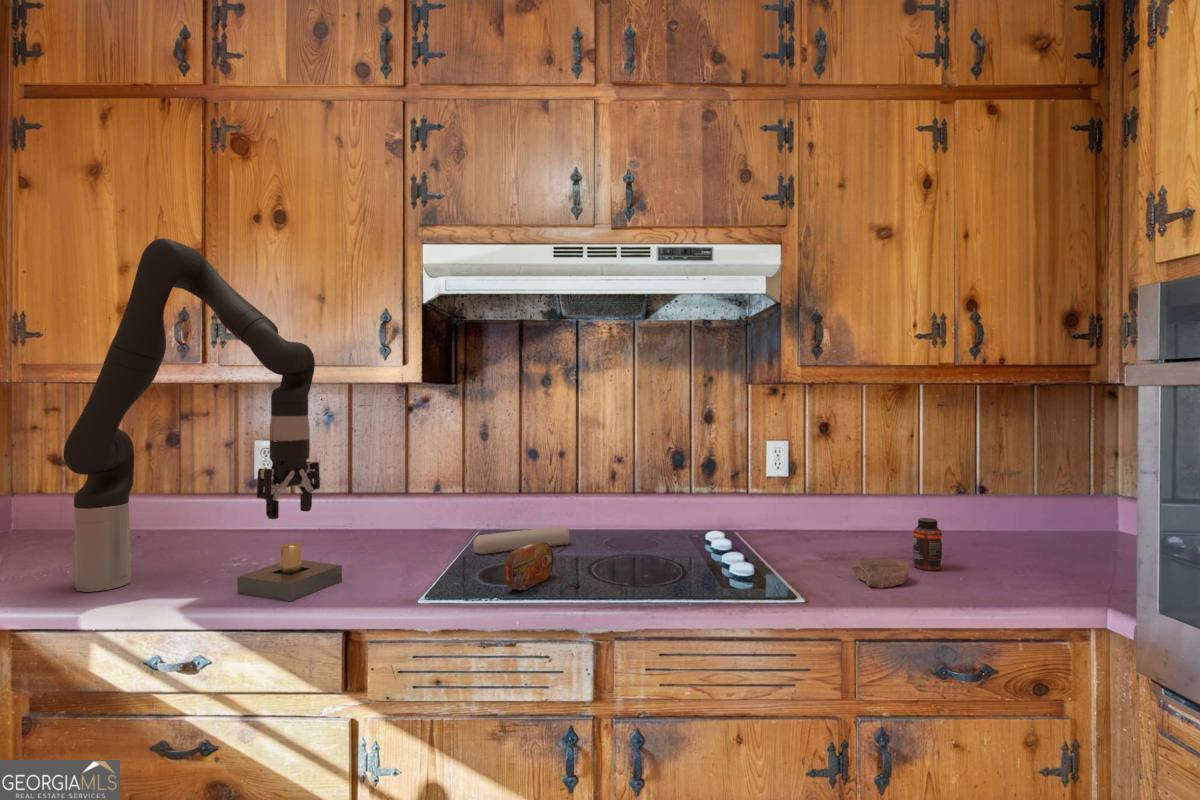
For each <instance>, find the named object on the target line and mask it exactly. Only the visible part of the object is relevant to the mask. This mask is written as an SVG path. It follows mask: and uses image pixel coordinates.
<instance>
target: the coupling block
mask: <svg viewBox="0 0 1200 800" xmlns="http://www.w3.org/2000/svg"><path fill="white" fill-rule="evenodd" d="M301 563H302V572H299V573H296V574H294V575H284V574H280V562H278V563H275V564H272V565H269V566H265V567H263V568H259V569H256V570H253V571H250V572H247V573H244V574H240V575H237V576H236V579H237V582H236V583H237V588H236V589H237V594H239V595H244V596H252V597H259V598H266V599H271V600H278V601H286V602H293V601H295V600H298V599H300V598H302V597H306V596H308V595H311V594H313V593H316V592H318V591H321V590H323V589H326V588H329V587H331V586H333V585H336V584H338V583H341V582H343V565H342V564H337V563H336V564H335V563H329V562H320V561H310V560H305V559H301Z"/></svg>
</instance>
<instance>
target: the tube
mask: <svg viewBox="0 0 1200 800" xmlns="http://www.w3.org/2000/svg"><path fill="white" fill-rule="evenodd" d="M534 542H546V543H548V544H549V545H550V546H553V547H558V546H557V545H562V546H569V543H570V531H569V529H568V526H567V525H565V524H562V525H559V526H551V527H550V526H549V527H543V528H541V527H539V528H532V529H531V528H530V529H523V530H515V531H513V530H512V531H506V532H504V531H503V532H496V533H495V532H494V533H487V534H480V535H479V534H478V535H477V536H476V537H475V538H474V540H473V542H472V547H473V552H474V553H476V554H478V555H479V554H484V555H489V554H488V553H493V554H497V553H496V552H501V553H504V552H503V551H510V552H512V550H516V549H519V548H521V547H524V546H526V545H529V544H531V543H534Z"/></svg>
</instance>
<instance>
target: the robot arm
mask: <svg viewBox="0 0 1200 800" xmlns="http://www.w3.org/2000/svg"><path fill="white" fill-rule="evenodd" d="M173 288H176V289H180V290H184V291H186V292H188V293H190V294H191V295H193V296H195V297H197V298H198V299H200V300H201V301H203V302H204V303H205V304H206V305H207V306H209V308H210V309H211V310H212V311H213V312H214V314H215V315H216V317H217V319H218V320H219V322H220V323H221V324H222V325H223V327H224V328H226V329H227V330H228V331H229V332H230V333H231V334H232V335H233V336H235V337H236V338H237V339H238V340H240V342H242V343H243V344H244V345H246V346H247V347H248V348H249V349H250V351H251V352H252V354H253V355H254V356H255V357H256V358H257V360H258V361H259V362H260V364H261V365H263V367H265V368H266V369H267V370H269V372H271V373H273V374H276V375H279V376H281V382H280V385H279V386H278V387H276V388H274V389H273V390H272V392H271V396H270V415H271V416H270V423H269V459H270V461H271V462H272V463H271V464H272V465H271V468H258V471H257V481H256V482H257V483H256V484H257V485H256V498H257V499H262V500H265V504H266V505H265V507H266V509H265V510H266V511H265V512H266V513H265V514H266V517H267V518H268V519H269V520H277V519H279V515H280V514H279V510H280V506H279V502H280V501H279V500H278V499H280V498H279V497H280V496H281V493H283V492H284V491H285V490H286V489H287V488H290V487H292V486H295V487H297V488H298V490H299V491H300V492H301V493H300V494H299V495H300V498H299V499H300V511H301V512H309V511H311V510H312V509H311V508H312V506H313V493H314V491H315V490H319V489H320V488H321V480H320V479H321V477H320V462H318V461H307V460H309V459H310V440H311V439H310V433H311V432H310V421H309V420H310V419H309V394H310V390H311V386H312V383H313V382H312V381H313V379H314V378H313V377H314V374H315V367H316V362H315V357H314V352H313V351H312V349H311V348H310V347H309V346H308V345H307V344H306V343H305V344H304V343H303V342H297V341H288V340H286V339H285V338H283V337H282V335H280V334H279V329H278V327H277V325H276V324H275V322H273V321H272V320H271V319H270V318H269V317H267V316H266V315H265V314H263V312H261V311H260V310H259V309H258V308H256V306H254V305H253V304H251V303H250V302H249V301H247V300H246V299H245V298H244V297H242V295H241V294H239V293H238V292H237V291H236V290H235V289H234V288H233V287H232V286H231V285H230V284H229V283H228V282H227V281H226V280H225V279H224V278H223V277H222V276H221V275H220V274H219V272H217V270H216V268H214V267H213V266H212V264H211V263H210V262H209V261H208V260H207V258H206V257H205V256H204V255H203V254H202V253H201V252H200V251H199V250H197V249H196V248H193V247H192V246H188V245H186V244H183V243H181V242H177V240H173V239H170V238H157V239H155V240H152V241H150V243H148V245H146V247H145V249H144V250H143V252H142V255H141V256H140V259H139V263H138V266H137V270H136V272H135V277H134V281H133V285H132V288H131V292H130V295H129V299H128V302H127V305H126V307H125V309H124V312H123V315H122V317H121V319H120V322H119V326H118V328H117V331H116V332H115V335H114V337H113V339H112V342H111V344H110V346H109V349H108V351H107V353H106V356H105V359H104V361H103V364H102V367H101V370H100V372H99V374H98V377H97V379H96V381H95V383H94V386H93V388H92V391H91V393H90V396H89V397H88V400H87V402H86V405H85V406H84V408H83V410H82V412H81V413H80V415H79V417H78V419H77V421H76V423H75V425H74V426H73V428H72V430H71V431H70V434H69V435H68V436H67V439H66V441H65V444H64V447H63V461H64V463H65V465H66V467H67V468H68V469H69V470H70V471H71V472H73V473H75V474H78V475H81V476H82V475H87V476H86V477H87V478H86V481H85V483H84V484H83V486H81V488H80V489H79V490H77V492H75V494H74V496H73V513H74V514H73V515H74V517H73V518H74V541H73V543H72V559H73V561H72V563H73V564H72V565H73V587H75V590H76V591H77V592H84V593H85V592H86V593H87V592H88V593H89V592H91V593H92V592H101V591H107V590H113V589H118V588H120V587H123V586H125V585H128V584H129V583H131V540H130V539H131V535H130V532H131V531H130V530H131V529H130V494H131V491H132V489H133V486H134V473H135V472H134V470H135V449H134V448H135V447H134V444H133V441H132V438H131V436H130V435H129V434H128V433H126V431H124V430H122V429H121V428H119V427H120V425H121V423H122V420H123V418H124V416H125V415H126V413H127V412H128V411H129V410H130V408H131V407H132V406H133V405H134V404H135V403H136V401H138V399H139V398H140V397H141V396H142V395H143V394H144V393H145V392H146V391H147V390H148V388H149V387H150V386H151V384H152V383H153V381H154V380H155V378H156V376H157V374H158V372H159V370H160V367H161V364H162V362H163V360H164V357H165V354H166V350H167V339H166V338H167V336H166V329H165V327H166V326H165V320H164V318H165V317H164V316H165V315H164V314H165V308H166V305H167V302H168V300H169V298H170V295H171V292H172V290H173Z"/></svg>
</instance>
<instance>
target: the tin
mask: <svg viewBox="0 0 1200 800" xmlns="http://www.w3.org/2000/svg"><path fill="white" fill-rule="evenodd" d="M503 566H504V570H503V571H504V572H503V574H504V580H505V584H506V586H507V587H508V588H509V589H511V590H514V591H515V590H516V591H519V592H522V591H521V590H523V589H525V588H527V587H529V586H531V585H534V584H537V583H539V582H541V583H543V582H545V581H546V580H548V578H549V577H550V576H551V573H552V571H553V568H554V552H553V548H552V547H550V545H549V544H548V543H546V542H534V543H531V544H529V545H526V546H524V547H521V548H519V549H516V550H514V551H510V552H509V554H508V555H507V557H506V559H505V562H504V565H503ZM544 580H545V581H544ZM542 581H543V582H542ZM539 584H540V583H539ZM537 585H538V584H537Z"/></svg>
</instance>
